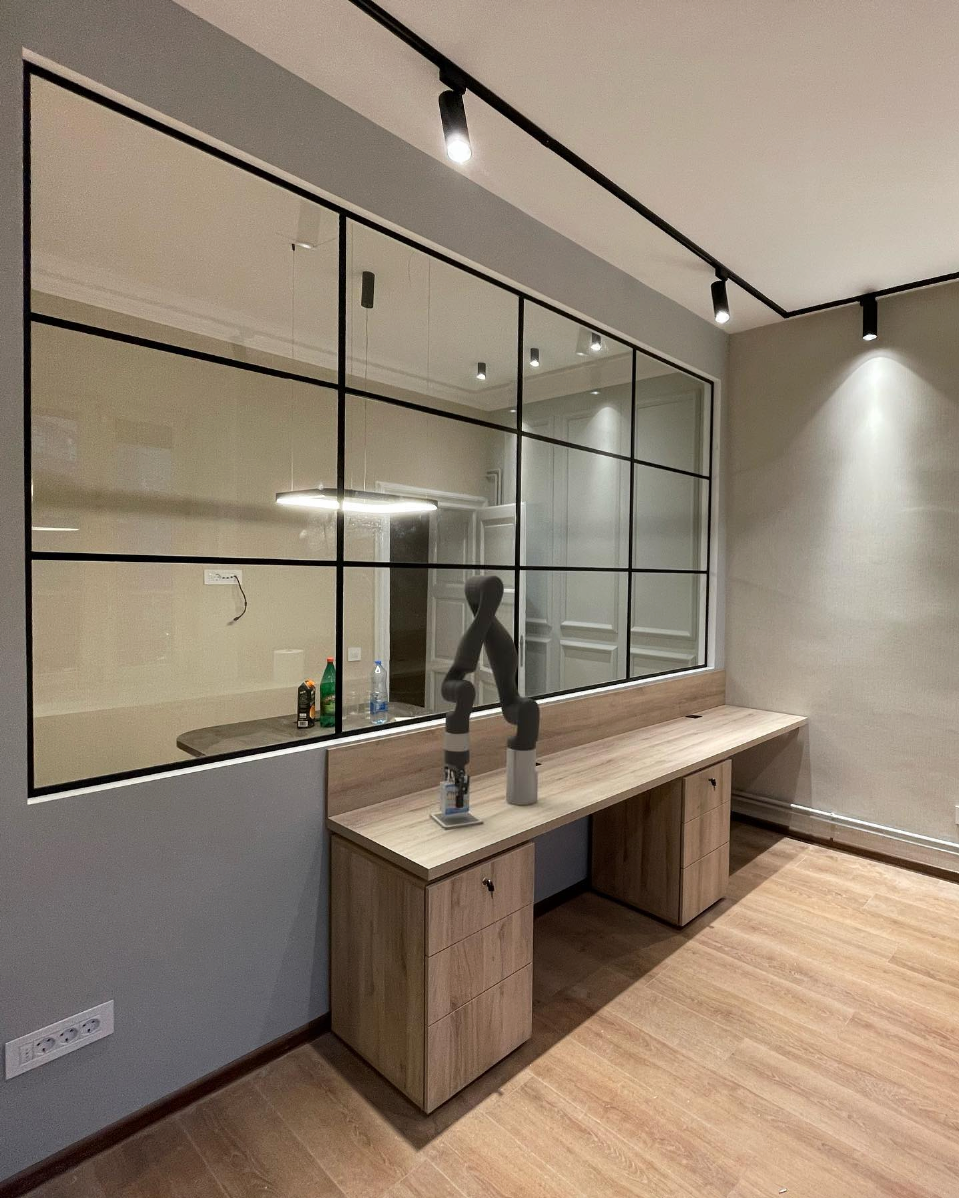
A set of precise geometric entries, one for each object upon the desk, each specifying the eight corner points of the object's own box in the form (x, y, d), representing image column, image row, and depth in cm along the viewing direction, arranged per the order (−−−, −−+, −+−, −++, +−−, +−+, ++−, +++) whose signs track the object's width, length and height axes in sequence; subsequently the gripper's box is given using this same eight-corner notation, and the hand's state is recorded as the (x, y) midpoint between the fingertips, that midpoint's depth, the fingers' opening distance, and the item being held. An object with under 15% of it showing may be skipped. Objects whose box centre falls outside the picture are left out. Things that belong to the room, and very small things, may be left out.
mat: (466, 810, 208) (466, 808, 208) (483, 823, 197) (483, 821, 197) (429, 816, 203) (429, 813, 203) (444, 829, 192) (445, 827, 192)
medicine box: (444, 815, 196) (445, 785, 196) (438, 810, 200) (439, 781, 200) (469, 811, 199) (470, 782, 199) (463, 807, 203) (463, 778, 203)
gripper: (479, 751, 195) (477, 810, 195) (458, 740, 208) (457, 796, 208) (454, 753, 191) (453, 814, 192) (436, 742, 204) (435, 799, 205)
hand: (455, 804), depth 200 cm, fingers closed on medicine box, 4 cm apart
